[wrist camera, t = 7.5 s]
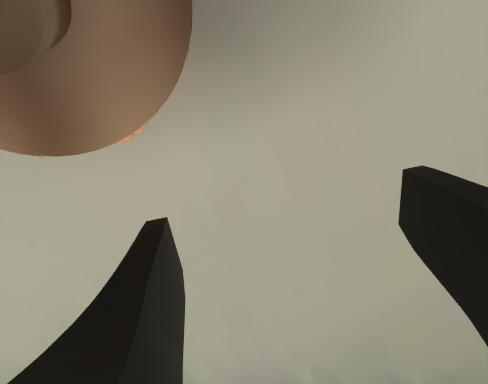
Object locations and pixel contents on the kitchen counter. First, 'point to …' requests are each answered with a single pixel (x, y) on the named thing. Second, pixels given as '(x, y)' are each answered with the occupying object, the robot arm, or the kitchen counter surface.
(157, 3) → the lid
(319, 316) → the kitchen counter surface
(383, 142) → the kitchen counter surface
